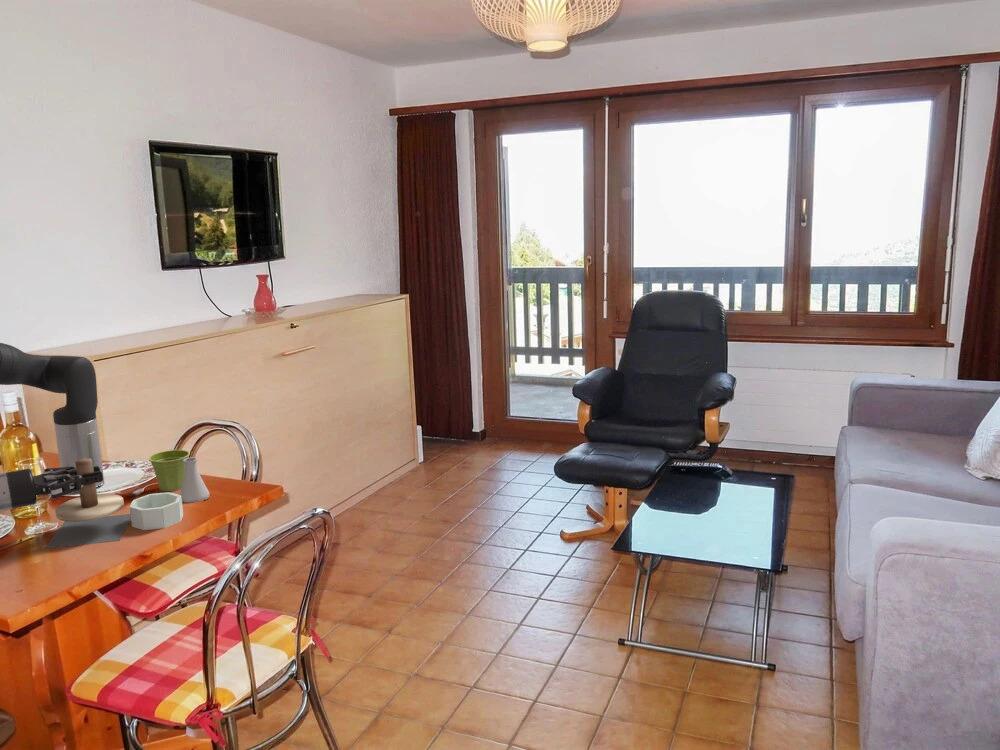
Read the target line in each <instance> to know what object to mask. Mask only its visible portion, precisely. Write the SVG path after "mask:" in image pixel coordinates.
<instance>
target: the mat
mask: <svg viewBox="0 0 1000 750" xmlns="http://www.w3.org/2000/svg"><path fill="white" fill-rule="evenodd" d="M130 523H131V515H130V513H129V514H117V515H109V516H106V517H102V518H99V519H95V520H89V521H81V522H67V521H63V523H62V524H61V526H60V528H58V530H57V532H55V534H54V535H53V537H52V538H51V539H50V541H49V543H47V545H46V546H45V549H54V548H55V549H56V548H62V547H63V548H65V547H73V546H74V547H75V546H83V545H93V544H101V543H103V544H104V543H111V542H120V541H121V538H122V536H123V535H124V534H125V531H126V529H127V527H128V526H129V524H130Z"/></svg>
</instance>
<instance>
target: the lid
mask: <svg viewBox="0 0 1000 750" xmlns="http://www.w3.org/2000/svg"><path fill="white" fill-rule="evenodd" d="M75 464H76V471H77V475H79V474H80V475H82V474H87V473H92V472H94V469H93V462H92V459H90V458H85V459H80V460H77V461H75ZM78 493H79V496H78V497H75V498H72V499H69V500H67V501H65V502H63V503H60V504H59V505H58V506H57V507H56V508H55V512H54V513H55V517H56V518H57V520H59V521H63V522H65V521H67V522H81V521H89V520H95V519H99V518H102V517H106V516H112V515H113V514H115V513H117V512H119V511H121V510H122V509H123V507H124V506H125V505H124V503H125V502H124V497H122V495H118V494H117V493H116V494H114V493H98V492H97V488H96V484H95V483H92V484H87V485H84V486H83V487H81V490H79V492H78Z"/></svg>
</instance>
